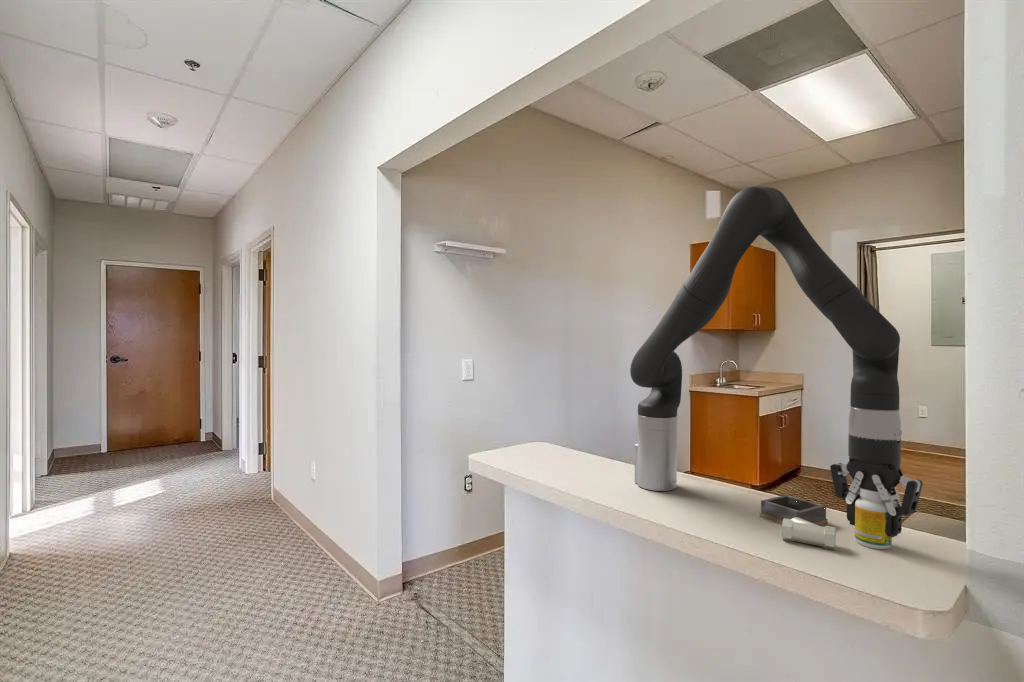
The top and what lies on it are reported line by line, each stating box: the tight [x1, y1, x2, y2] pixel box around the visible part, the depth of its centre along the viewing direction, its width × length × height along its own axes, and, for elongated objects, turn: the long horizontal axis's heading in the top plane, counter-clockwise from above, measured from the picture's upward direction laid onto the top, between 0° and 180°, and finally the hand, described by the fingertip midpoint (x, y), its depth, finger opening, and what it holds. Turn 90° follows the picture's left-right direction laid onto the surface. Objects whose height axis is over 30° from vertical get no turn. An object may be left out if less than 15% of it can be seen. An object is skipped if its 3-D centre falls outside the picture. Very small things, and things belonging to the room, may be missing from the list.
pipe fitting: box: [781, 517, 837, 551], centre depth 92 cm, size 8×4×7 cm
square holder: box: [758, 494, 829, 526], centre depth 102 cm, size 9×9×3 cm
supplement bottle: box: [854, 488, 893, 550], centre depth 90 cm, size 5×5×10 cm
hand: (873, 529), depth 90 cm, fingers closed on supplement bottle, 5 cm apart
